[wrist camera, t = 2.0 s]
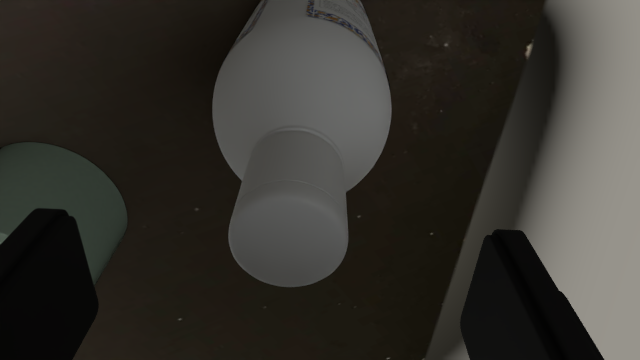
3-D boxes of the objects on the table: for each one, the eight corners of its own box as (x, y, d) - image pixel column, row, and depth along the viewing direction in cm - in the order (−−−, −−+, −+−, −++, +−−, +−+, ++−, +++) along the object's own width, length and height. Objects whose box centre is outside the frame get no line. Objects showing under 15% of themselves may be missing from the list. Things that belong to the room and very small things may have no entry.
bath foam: (272, 97, 30) (202, 358, 13) (238, -13, 27) (85, 149, 10) (376, 74, 29) (446, 323, 12) (356, -43, 26) (415, 79, 9)
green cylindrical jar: (-46, 137, 32) (-180, 225, 24) (113, 145, 32) (37, 235, 24) (3, 257, 38) (-91, 362, 29) (138, 264, 38) (83, 370, 30)
